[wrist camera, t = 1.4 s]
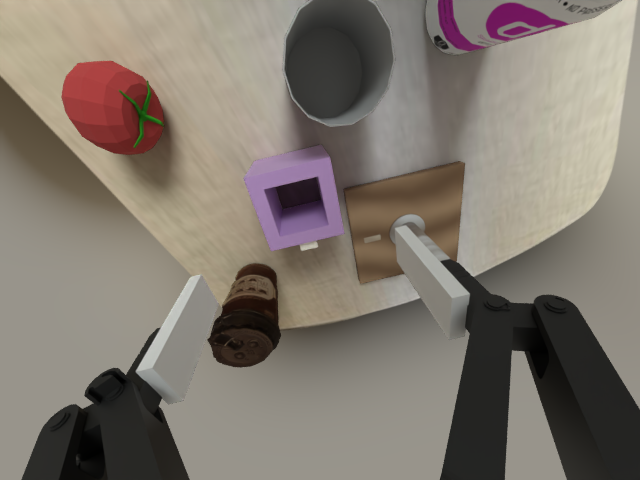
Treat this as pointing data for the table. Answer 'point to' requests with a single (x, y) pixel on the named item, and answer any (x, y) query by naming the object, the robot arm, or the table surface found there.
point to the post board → (405, 217)
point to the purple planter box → (300, 220)
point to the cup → (338, 59)
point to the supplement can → (501, 20)
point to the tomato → (113, 107)
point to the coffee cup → (248, 319)
